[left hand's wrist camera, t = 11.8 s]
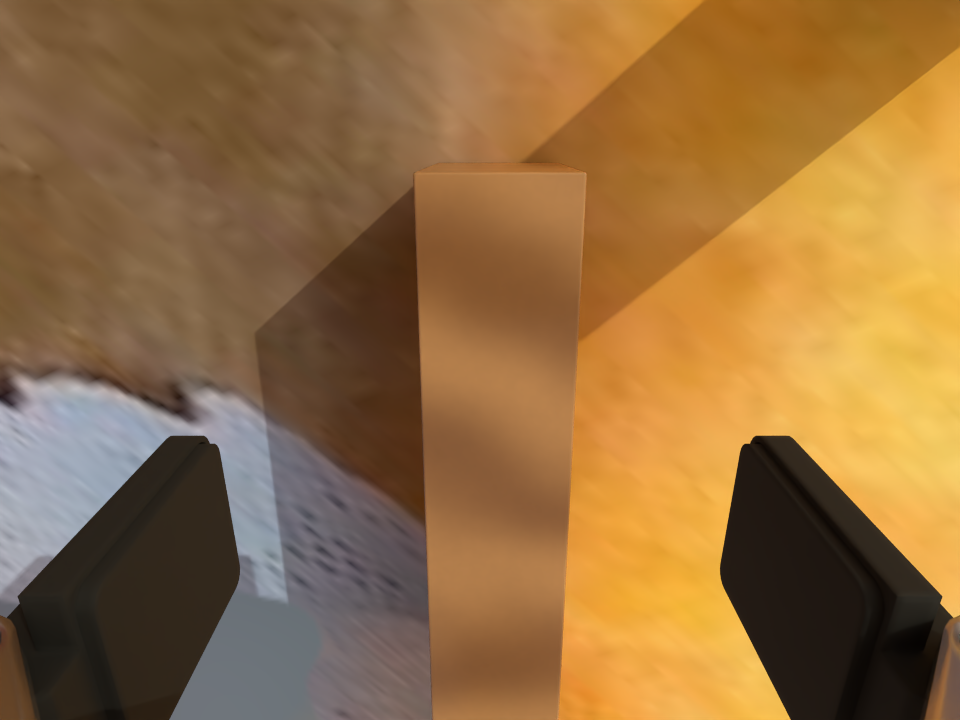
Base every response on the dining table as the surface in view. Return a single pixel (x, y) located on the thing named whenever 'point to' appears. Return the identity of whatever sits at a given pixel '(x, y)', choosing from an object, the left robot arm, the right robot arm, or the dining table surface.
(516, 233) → the post
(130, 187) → the dining table surface
